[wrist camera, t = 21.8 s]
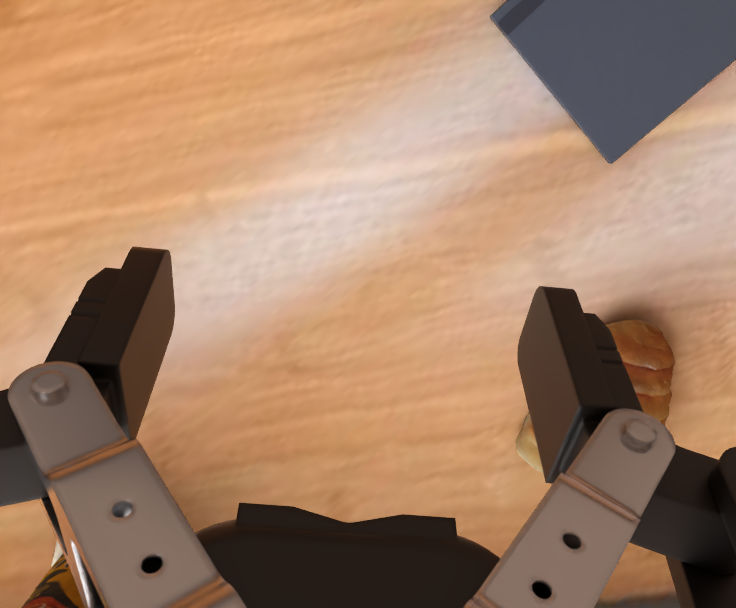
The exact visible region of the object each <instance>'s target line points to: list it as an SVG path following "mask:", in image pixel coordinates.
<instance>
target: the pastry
mask: <svg viewBox="0 0 736 608" xmlns="http://www.w3.org/2000/svg"><path fill="white" fill-rule="evenodd" d="M606 326H607V327H608V328H609V329H610V331H611V333H612V336H613V338H614V340H615V343H616V345H617V351H619V353H620V355H621V358H622V360H623V365H625V368H626V370H627V373H628V375H629V377H630V380H631V382H632V385H633V387H634V390H635V392H636V395H637V397H638V400H639V402H640V405H641V407H642V410H643V412H644V413H646V414H648V415H650V416H652V417H654V418H655V419H657V420H658V421H659V422H661V423H662V424H663V425H665V421H666V419H667V417H668V415H669V403H670V399H671V396H672V394H671V389H670V386H671V378H672V371H673V366H674V363H675V361H674V356H673V353H672V351H671V348H670V347H669V345H668V343H667V341H666V340H665V338H664V336H663V333H662V332H661V331H660V330H659V329H658V328H657V327H655V326H654V325H651V324H650V323H648V322H645V321H641V320H625V321H619V322H614V323H611V324H608V325H606ZM515 443H516V450H517V452H518V454H519V455H520V456H521V457H522V458H523V459H524V460H525V461H527V462H528V463H529V464H530V465H531V466H532V467H533V468H535V469H536V470H539V471H541V472H542V473H543V468H542V464H541V460H540V456H539V451H538V447H537V443H536V439H535V434H534V430H533V426H532V421H531V417H530V413H529V414H528V415H527V417H526V419H525V422H524V427H523V429H522V430H521V432H520V433H519V435H518V436H517V439H516V441H515Z"/></svg>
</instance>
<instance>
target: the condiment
mask: <svg viewBox="0 0 736 608" xmlns="http://www.w3.org/2000/svg"><path fill="white" fill-rule="evenodd" d="M22 608H85V606H84V604H83V601H82V599H81V596H80V594H79V591H78V588H77V585H76V583H75V580H74V577H73V575H72V572H71V570H70V567H69V565H68V563H67V561H66V558H65V556H64V554H63V552H62V549H61V547H60V545H59V543H58V541H57V544H56V548H55V552H54V557H53V562H52V566H51V569H50V570H49V572H48V573H47V574H46V575H45V576H44V577H43V579H42V580H41V582H40V583H39V585H38V586H37V587H36V589H35V591H34V592H33V593H32V594H31V596H30V598H29V599H28V600H27V601H26V602H25V604H24V605H23V607H22Z"/></svg>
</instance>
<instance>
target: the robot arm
mask: <svg viewBox="0 0 736 608" xmlns="http://www.w3.org/2000/svg"><path fill="white" fill-rule="evenodd" d="M174 317H175V302H174V289H173V277H172V264H171V255H170V252H169V250H163V249H153V248H142V247H132V248H131V249H130V251H129V253H128V255H127V257H126V260H125V262H124V264H123V266H122V268H121V269H115V268H104V269H103V270H102V271H100V272H99V273H98V274H96V275H95V276H94V277H92V278H91V279H90V280H89V281H87V283H86V285H85V287H84V289H83V291H82V292H81V294H80V296H79V298H78V302H76V304H75V306H74V307H73V309H72V311H71V315H69V317H68V319H67V321H66V322H65V324H64V326H63V328H62V330H61V332H60V334H59V336H58V337H57V339H56V341H55V343H54V345H53V347H52V349H51V351H50V352H49V354H48V356H47V358H46V360H45V362H44V363H43V364H39V365H36V366H34V367H31V368H29V369H28V370H26V371H24V372H23V373H21V374H20V375H19V376H18V377H17V378H16V379H15V380H14V381H13V382H12V384H11V386H10V388H9V389H6V390H2V391H0V506H5V505H10V504H15V503H20V502H25V501H30V500H35V499H39V500H40V503H41V505H42V507H43V509H44V512H45V514H46V516H47V518H48V521H49V523H50V525H51V527H52V529H53V532H54V534H55V536H56V538H57V541H58V543H59V545H60V547H61V549H62V552H63V554H64V556H65V558H66V561H67V563H68V565H69V567H70V570H71V572H72V575H73V577H74V580H75V583H76V585H77V588H78V591H79V594H80V596H81V599H82V601H83V604H84V606H85V608H594V606H595V605H596V603H597V601H598V599H599V597H600V595H601V593H602V591H603V590H604V588H605V586H606V584H607V582H608V580H609V578H610V576H611V575H612V573H613V571H614V569H615V567H616V565H617V563H618V561H619V560H620V558H621V556H622V554H623V552H624V550H625V548H626V547H627V545H628V543H629V542H630V543H633V544H635V545H638V546H641V547H643V548H646V549H649V550H652V551H654V552H657V553H660V554H663V555H665V556H666V559H667V562H668V566H669V569H670V572H671V576H672V579H673V582H674V586H675V589H676V592H677V596H678V599H679V603H680V606H681V608H736V447H733V448H729V449H728V450H726V451H725V452H724V453H723V454H722V456H721V457H720V459H719V460H717V459H714V458H711V457H708V456H705V455H702V454H699V453H696V452H693V451H690V450H687V449H685V448H682V447H679V446H677V445H675V442H674V439H673V437H672V435H671V433H670V432H669V431H668V429H667V428H666V427H665V426H664V425H663V424H662V423H661V422H659V421H658V420H657V419H655V418H654V417H652V416H650V415H648V414H646V413H644V412H643V410H642V407H641V405H640V402H639V400H638V397H637V395H636V392H635V390H634V387H633V385H632V382H631V380H630V377H629V375H628V373H627V370H626V368H625V365H623V360H622V358H621V355H620V353H619V351H617V345H616V343H615V340H614V338H613V336H612V333H611V331H610V329H609V328H608V327H607V326H606V325H605V324H604V323H603V322H602V321H601V320H600V319H599V318H598V317H597V316H596V315H595V314H590V313H583V310H582V308H581V305H580V302H579V299H578V297H577V294H576V292H575V291H574V290H573V289H565V288H554V287H544V286H540V287H538V288H537V290H536V292H535V294H534V297H533V300H532V303H531V306H530V309H529V312H528V315H527V318H526V321H525V324H524V327H523V330H522V333H521V336H520V340H519V345H518V366H519V370H520V374H521V379H522V383H523V387H524V392H525V396H526V400H527V404H528V409H529V413H530V417H531V421H532V426H533V430H534V434H535V439H536V443H537V447H538V451H539V456H540V460H541V464H542V468H543V473H544V477H545V481H546V483H553V484H552V486H551V487H550V489H549V490H548V492H547V493H546V494H545V496H544V497H543V499H542V500H541V502H540V503H539V504H538V506H537V507H536V509H535V510H534V512H533V513H532V514H531V516H530V517H529V519H528V520H527V522H526V523H525V524H524V526H523V527H522V529H521V530H520V532H519V533H518V534H517V536H516V537H515V539H514V540H513V542H512V543H511V544H510V546H509V547H508V549H507V550H506V552H505V553H504V555H503V556H502V557H501V559H500V558H499V557H498V556H496V555H495V554H493V553H492V552H491V551H489V550H488V549H486V548H484V547H483V546H481V545H479V544H477V543H475V542H473V541H471V540H469V539H466V538H464V537H461V536H458V535H457V531H456V521H455V518H445V517H431V516H417V515H397V516H391V517H385V518H378V519H372V520H366V521H360V522H354V523H346V522H341V521H338V520H335V519H332V518H328V517H325V516H322V515H319V514H315V513H312V512H309V511H306V510H302V509H299V508H296V507H291V506H277V505H263V504H249V503H239V507H238V513H237V519H236V520H230V521H225V522H221V523H218V524H214V525H212V526H209V527H207V528H204V529H202V530H200V531H198V532H196V533H194V531H193V529H192V528H191V526H190V525H189V523H188V521H187V520H186V518H185V516H184V515H183V513H182V511H181V510H180V508H179V506H178V505H177V503H176V501H175V500H174V498H173V497H172V495H171V493H170V492H169V490H168V488H167V487H166V485H165V483H164V482H163V480H162V478H161V477H160V475H159V473H158V472H157V470H156V468H155V467H154V465H153V464H152V462H151V460H150V459H149V457H148V455H147V454H146V452H145V450H144V449H143V447H142V446H141V444H140V443H139V441H138V440H137V439H136V436H137V433H138V431H139V428H140V425H141V422H142V419H143V416H144V413H145V410H146V407H147V404H148V401H149V398H150V395H151V393H152V390H153V387H154V384H155V381H156V378H157V375H158V372H159V369H160V366H161V363H162V360H163V358H164V355H165V352H166V349H167V346H168V343H169V340H170V337H171V334H172V330H173V325H174Z"/></svg>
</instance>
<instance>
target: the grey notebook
mask: <svg viewBox="0 0 736 608" xmlns="http://www.w3.org/2000/svg"><path fill="white" fill-rule="evenodd" d="M490 18H491V19H492V21H493V22H494V23H495V24H496V26H497V27H498V28H499V29H500V31H501V32H502V33H503V34H504V35H505V37H506V38H507V39H508V40H509V42H510V43H511V44H512V45H513V47H514V48H515V49H516V50H517V51H518V53H519V54H520V55H521V56H522V58H523V59H524V60H525V61H526V62H527V64H528V65H529V66H530V67H531V69H532V70H533V71H534V72H535V74H536V75H537V76H538V77H539V78H540V80H541V81H542V82H543V83H544V85H545V86H546V87H547V88H548V90H549V91H550V92H551V93H552V94H553V96H554V97H555V98H556V99H557V101H558V102H559V103H560V104H561V105H562V107H563V108H564V109H565V110H566V112H567V113H568V114H569V115H570V117H571V118H572V119H573V120H574V121H575V123H576V124H577V125H578V126H579V128H580V129H581V130H582V131H583V133H584V134H585V135H586V136H587V137H588V139H589V140H590V141H591V142H592V144H593V145H594V146H595V147H596V148H597V150H598V151H599V152H600V153H601V155H602V156H603V157H604V158H605V160H606V161H607V162H608V163H610V164H612V163H613V162H614V161H616V160H617V159H618V158H619V157H620V156H622V155H623V154H624V153H625V152H626V151H627V150H629V149H630V148H631V147H632V146H633V145H635V144H636V143H637V142H638V141H639V140H641V139H642V138H643V137H644V136H645V135H647V134H648V133H649V132H650V131H651V130H652V129H654V128H655V127H656V126H657V125H658V124H660V123H661V122H662V121H663V120H664V119H666V118H667V117H668V116H669V115H670V114H672V113H673V112H674V111H675V110H676V109H677V108H679V107H680V106H681V105H682V104H683V103H685V102H686V101H687V100H688V99H689V98H691V97H692V96H693V95H694V94H695V93H697V92H698V91H699V90H700V89H701V88H702V87H704V86H705V85H706V84H707V83H708V82H710V81H711V80H712V79H713V78H714V77H716V76H717V75H718V74H719V73H720V72H722V71H723V70H724V69H725V68H726V67H727V66H729V65H730V64H731V63H732V62H733V61H735V60H736V0H507V1H506V2H505V3H504V4H503V5H502V6H501V7H500V8H499V9H498V10H497V11H495V12H494V13H493V14H492V15H491V16H490Z"/></svg>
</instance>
